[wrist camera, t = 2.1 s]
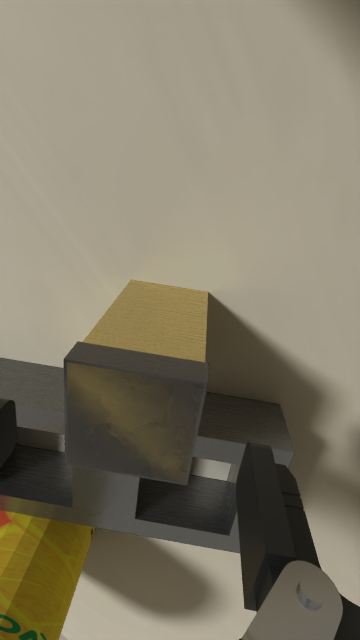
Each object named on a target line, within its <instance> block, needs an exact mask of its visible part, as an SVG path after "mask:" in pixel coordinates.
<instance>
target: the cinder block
mask: <svg viewBox="0 0 360 640" xmlns="http://www.w3.org/2000/svg"><path fill="white" fill-rule="evenodd" d="M0 398H4V399H9V400H13V401H14V402H15V406H16V419H17V426H18V427H24V428H30V429H36V430H41V431H47V432H53V433H59V434H65V412H64V368H58V367H52V366H46V365H40V364H34V363H28V362H22V361H16V360H10V359H4V358H0ZM248 442H252V443H257V444H263V445H269V446H271V448H272V451H273V456H274V460H275V463H276V464H282V465H286V467H287V468H289V466H290V463H291V460H292V458H293V455H294V449H293V446H292V443H291V439H290V436H289V432H288V429H287V426H286V422H285V419H284V415H283V412H282V409H281V405H280V404H274V403H268V402H262V401H256V400H250V399H244V398H238V397H232V396H226V395H220V394H214V393H208V392H206V395H205V400H204V405H203V410H202V414H201V419H200V424H199V429H198V434H197V439H196V444H195V449H194V454H193V457H198V458H204V459H210V460H215V461H221V462H227V463H232V464H231V468H230V472H229V475H228V479H227V481H221V480H215V479H210V478H204V477H198V476H192V475H189V478H188V483H187V486H186V485H181V484H175V483H169V482H164V481H158V480H152V479H146V478H141V477H135V476H129V475H124V474H118V473H112V472H106V471H101V470H95V469H89V468H84V467H78V466H72V465H66V464H65V453H60V452H55V451H49V450H43V449H37V448H32V447H26V446H20V445H15V447H14V450H13V452H12V453H11V455H10V456H9V457H8V459H7V460H6V461H5V463H4V464H3V465H2V467H1V468H0V510H2V511H7V512H13V513H19V514H24V515H30V516H35V517H41V518H46V519H52V520H57V521H63V522H69V523H74V524H80V525H85V526H91V527H96V528H102V529H107V530H113V531H118V532H124V533H130V534H135V535H141V536H146V537H152V538H157V539H163V540H168V541H174V542H179V543H185V544H191V545H196V546H202V547H207V548H213V549H218V550H224V551H229V552H235V553H240V542H239V529H238V516H237V502H236V482H237V476H238V472H239V468H240V465H241V461H242V458H243V454H244V451H245V447H246V444H247V443H248Z"/></svg>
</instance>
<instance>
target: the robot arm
mask: <svg viewBox="0 0 360 640" xmlns="http://www.w3.org/2000/svg"><path fill="white" fill-rule="evenodd" d="M17 436H18V435H17V419H16V406H15V402H14V401H13V400H9V399H4V398H0V468H1V467H2V465H3V464H4V463H5V461H6V460H7V459H8V457H9V456H10V455H11V453H12V452H13V450H14V447H15V445H16V442H17ZM236 502H237V516H238V529H239V542H240V555H241V568H242V581H243V595H244V608H245V609H248V610H253V611H257V614H256V616H255V617H254V619H253V621H252V622H251V624H250V626H249V627H248V629H247V631H246V632H245V634H244V635H243V637H242V638H241V639H239V640H360V607H359V606H357V605H355V604H354V603H352V602H350V601H349V600H347V599H346V598H345V597H343V596H342V595H341V594H340V593H339V592H338V590H337V588H336V586H335V584H334V583H333V582H332V580H331V579H330V578H329V577H328V575H327V574H326V573H325V572H323V571H322V569H321V567H320V564H319V561H318V557H317V554H316V550H315V547H314V543H313V539H312V536H311V532H310V529H309V525H308V522H307V518H306V515H305V511H304V510H303V509H304V507H303V504H302V500H301V498H300V493H299V490H298V486H297V483H296V479H295V478H294V477H293V475H292V474H291V472H290V471H289V469H288V468H287V467H286V465H282V464H276V463H275V460H274V456H273V451H272V448H271V446H269V445H263V444H257V443H252V442H248V443H247V444H246V447H245V451H244V454H243V458H242V461H241V465H240V468H239V472H238V476H237V482H236Z"/></svg>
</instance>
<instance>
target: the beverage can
mask: <svg viewBox="0 0 360 640" xmlns="http://www.w3.org/2000/svg"><path fill="white" fill-rule="evenodd" d="M95 528H96V527H91V526H85V525H80V524H74V523H69V522H63V521H57V520H52V519H46V518H41V517H35V516H30V515H24V514H19V513H13V512H7V511H2V510H0V640H59V637H60V634H61V631H62V628H63V625H64V622H65V619H66V616H67V613H68V610H69V607H70V604H71V601H72V598H73V595H74V592H75V589H76V586H77V583H78V580H79V577H80V574H81V571H82V568H83V565H84V562H85V559H86V556H87V553H88V550H89V547H90V544H91V541H92V538H93V535H94V531H95Z"/></svg>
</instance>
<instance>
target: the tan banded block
mask: <svg viewBox="0 0 360 640" xmlns="http://www.w3.org/2000/svg"><path fill="white" fill-rule="evenodd" d="M207 307H208V292H206V291H199V290H193V289H187V288H180V287H174V286H168V285H161V284H155V283H149V282H142V281H136V280H131V281H130V282H129V283H128V284H127V286H126V287H125V288H124V290H123V291H122V292H121V293H120V295H119V296H118V297H117V298H116V300H115V301H114V302H113V304H112V305H111V306H110V307H109V309H108V310H107V311H106V313H105V314H104V315H103V316H102V318H101V319H100V320H99V322H98V323H97V324H96V325H95V327H94V328H93V329H92V331H91V332H90V333H89V334H88V336H87V337H86V338H85V340H84V341H83V342H77V343H76V345H75V346H74V347H73V348H72V349H71V351H70V352H69V353H68V354H67V356H66V357H65V358H64V412H65V464H66V465H72V466H78V467H84V468H89V469H95V470H101V471H106V472H112V473H118V474H124V475H129V476H135V477H141V478H146V479H152V480H158V481H164V482H169V483H175V484H181V485H186V486H187V483H188V478H189V473H190V469H191V464H192V459H193V454H194V449H195V444H196V439H197V434H198V429H199V424H200V419H201V414H202V410H203V405H204V400H205V395H206V390H207V385H208V363H206V362H205V354H206V331H207Z"/></svg>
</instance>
